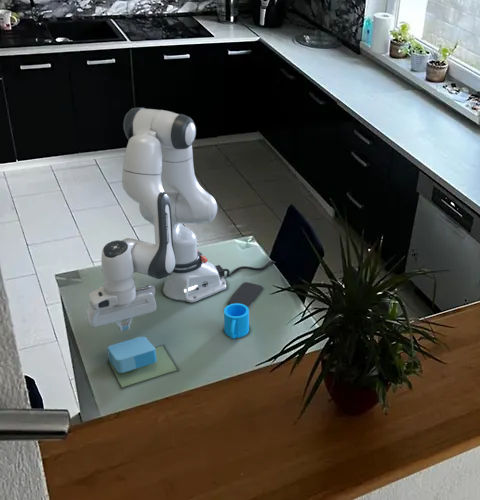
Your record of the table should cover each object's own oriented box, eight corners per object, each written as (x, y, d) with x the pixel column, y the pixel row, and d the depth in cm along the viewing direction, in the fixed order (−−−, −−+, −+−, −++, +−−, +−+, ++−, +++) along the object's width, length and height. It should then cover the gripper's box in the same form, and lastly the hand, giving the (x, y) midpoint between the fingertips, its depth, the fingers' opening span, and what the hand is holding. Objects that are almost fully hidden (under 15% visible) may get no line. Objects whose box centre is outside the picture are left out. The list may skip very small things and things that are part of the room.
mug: (227, 321, 237) (226, 302, 233) (250, 323, 237) (250, 304, 233) (219, 343, 227) (219, 323, 223) (244, 346, 227) (244, 326, 223)
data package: (108, 359, 217) (119, 374, 207) (106, 346, 215) (116, 360, 205) (146, 348, 222) (158, 362, 213) (144, 335, 221) (156, 348, 211)
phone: (263, 285, 256) (246, 307, 243) (263, 287, 256) (246, 309, 244) (244, 281, 257) (227, 303, 245) (244, 283, 258) (227, 305, 245)
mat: (162, 346, 224) (162, 345, 224) (176, 370, 215) (176, 369, 215) (109, 362, 215) (109, 361, 215) (121, 387, 206) (121, 387, 206)
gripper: (151, 278, 216) (154, 314, 223) (83, 295, 206) (88, 332, 213) (157, 289, 211) (160, 325, 218) (88, 306, 201) (94, 343, 208)
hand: (124, 328), depth 215 cm, fingers closed
